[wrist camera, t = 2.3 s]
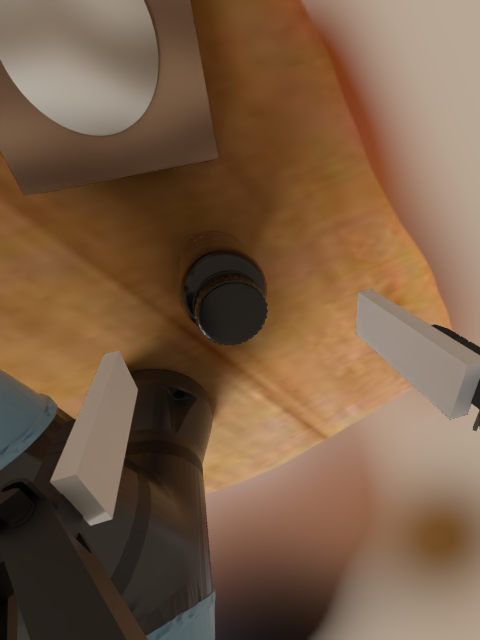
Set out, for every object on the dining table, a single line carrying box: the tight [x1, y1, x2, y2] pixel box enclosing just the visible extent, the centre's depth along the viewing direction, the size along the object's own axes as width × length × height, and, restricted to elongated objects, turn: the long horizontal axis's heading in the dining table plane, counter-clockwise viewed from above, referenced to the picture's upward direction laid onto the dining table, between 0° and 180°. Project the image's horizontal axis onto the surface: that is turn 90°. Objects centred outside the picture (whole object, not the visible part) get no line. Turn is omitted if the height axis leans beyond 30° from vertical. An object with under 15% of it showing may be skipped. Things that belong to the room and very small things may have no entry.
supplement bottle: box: [179, 232, 268, 345], centre depth 23 cm, size 7×7×12 cm
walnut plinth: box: [0, 0, 219, 195], centre depth 18 cm, size 14×14×4 cm
